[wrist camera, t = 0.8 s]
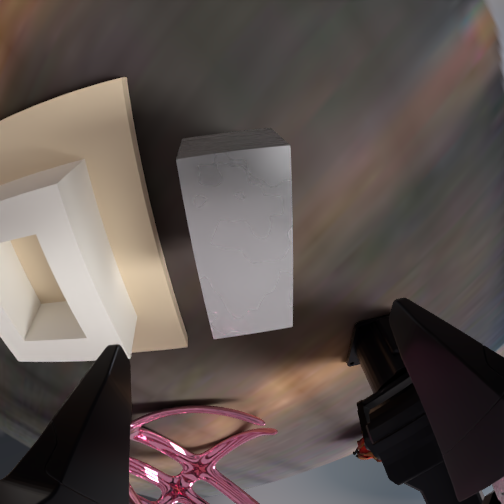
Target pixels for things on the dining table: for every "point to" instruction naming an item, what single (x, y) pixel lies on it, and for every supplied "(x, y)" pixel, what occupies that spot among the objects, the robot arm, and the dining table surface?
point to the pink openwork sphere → (190, 458)
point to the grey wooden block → (241, 227)
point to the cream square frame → (80, 233)
